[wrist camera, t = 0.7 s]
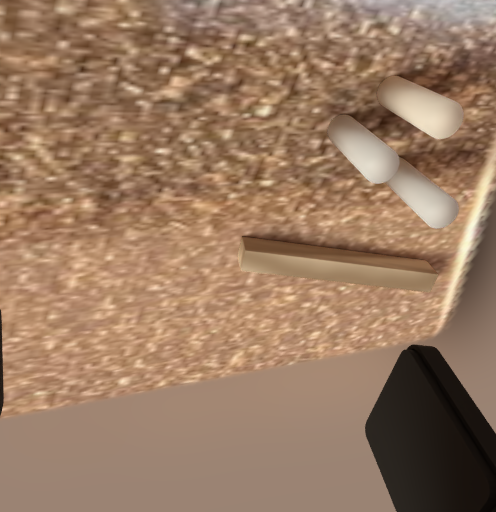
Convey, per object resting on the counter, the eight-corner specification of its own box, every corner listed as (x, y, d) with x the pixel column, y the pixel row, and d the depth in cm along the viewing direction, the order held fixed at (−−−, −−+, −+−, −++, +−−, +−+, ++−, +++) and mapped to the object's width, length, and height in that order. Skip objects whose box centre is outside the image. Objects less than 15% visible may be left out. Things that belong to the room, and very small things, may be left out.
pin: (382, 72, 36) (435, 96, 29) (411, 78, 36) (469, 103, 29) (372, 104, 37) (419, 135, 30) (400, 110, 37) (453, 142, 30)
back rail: (242, 236, 41) (245, 250, 39) (426, 260, 45) (438, 274, 43) (237, 256, 42) (240, 270, 40) (418, 278, 46) (430, 292, 44)
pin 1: (332, 111, 37) (370, 144, 30) (360, 117, 37) (405, 150, 30) (323, 141, 38) (358, 180, 31) (351, 146, 38) (391, 186, 31)
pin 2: (385, 154, 39) (433, 194, 32) (411, 159, 40) (464, 199, 32) (376, 181, 40) (419, 226, 33) (401, 185, 41) (450, 230, 33)
